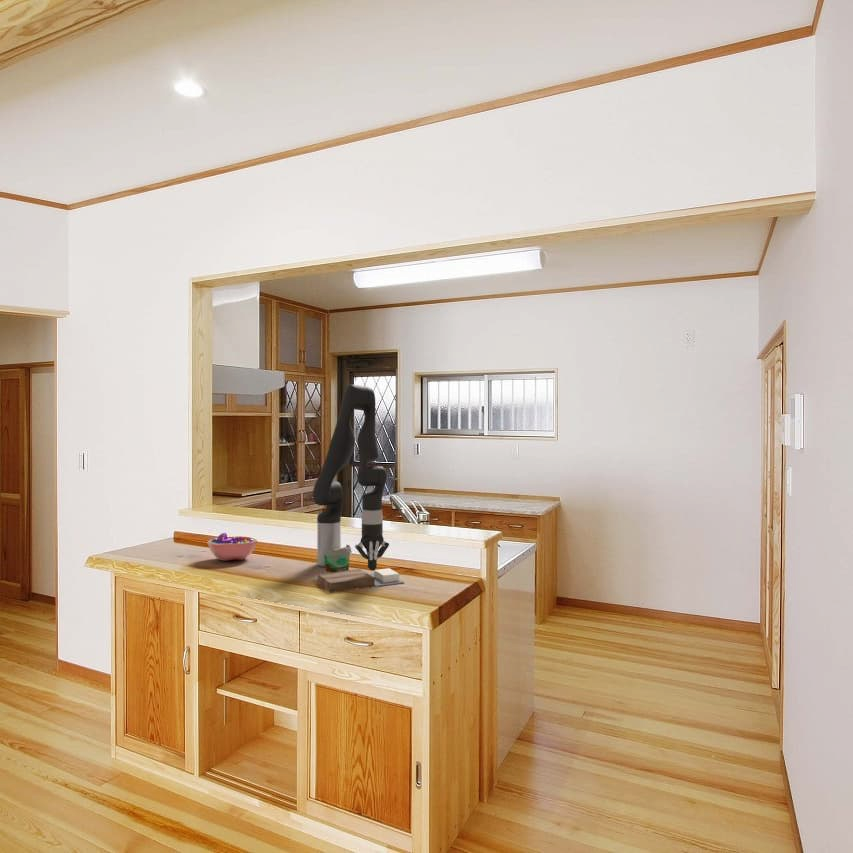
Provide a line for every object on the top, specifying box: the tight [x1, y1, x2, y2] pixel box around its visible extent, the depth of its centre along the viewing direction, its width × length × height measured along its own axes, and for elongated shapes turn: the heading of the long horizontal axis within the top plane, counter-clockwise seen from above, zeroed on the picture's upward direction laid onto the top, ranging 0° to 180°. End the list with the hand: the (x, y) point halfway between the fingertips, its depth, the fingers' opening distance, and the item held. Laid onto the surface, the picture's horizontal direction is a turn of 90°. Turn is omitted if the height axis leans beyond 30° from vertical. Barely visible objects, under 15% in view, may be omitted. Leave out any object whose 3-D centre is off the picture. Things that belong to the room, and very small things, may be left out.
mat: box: [368, 573, 405, 588], centre depth 227 cm, size 16×11×1 cm
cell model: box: [206, 532, 258, 562], centre depth 259 cm, size 17×20×11 cm
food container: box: [323, 544, 352, 573], centre depth 235 cm, size 12×6×10 cm, turn 139°
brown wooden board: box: [317, 568, 375, 593], centre depth 221 cm, size 14×16×3 cm
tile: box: [373, 567, 400, 583], centre depth 227 cm, size 9×6×2 cm, turn 26°
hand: (372, 569), depth 226 cm, fingers closed
